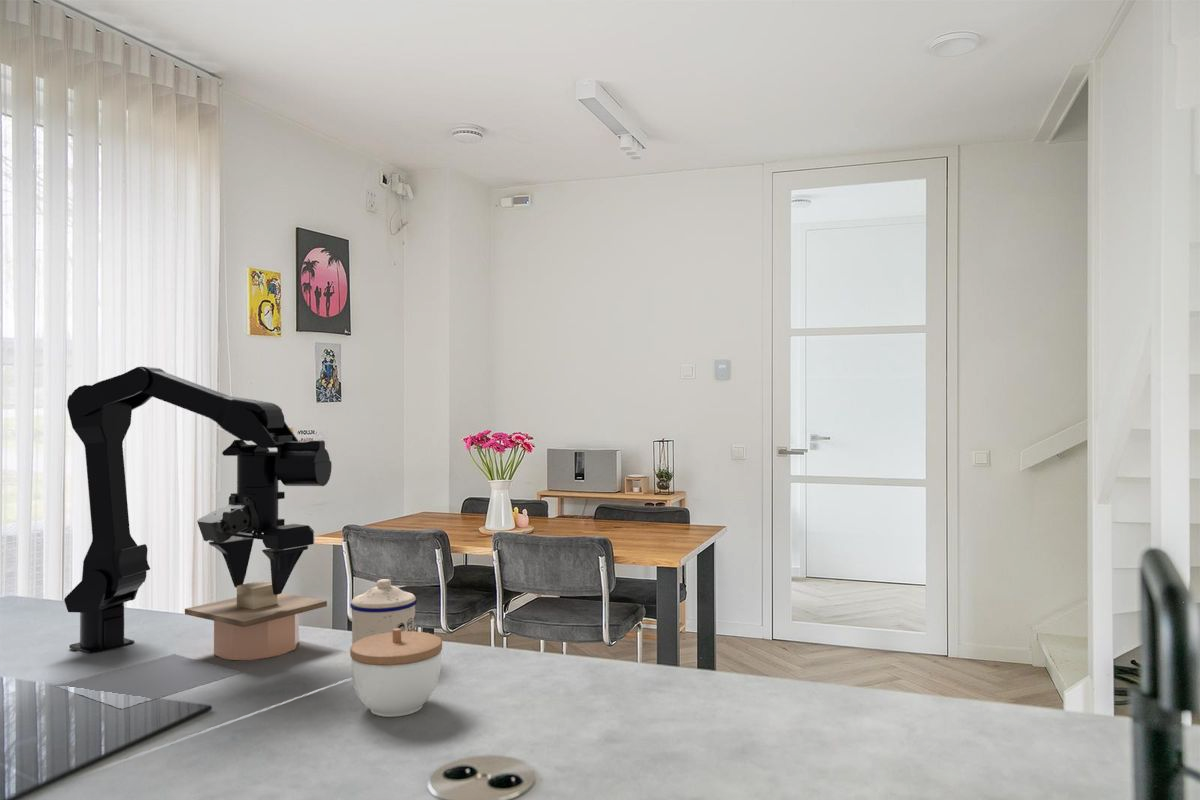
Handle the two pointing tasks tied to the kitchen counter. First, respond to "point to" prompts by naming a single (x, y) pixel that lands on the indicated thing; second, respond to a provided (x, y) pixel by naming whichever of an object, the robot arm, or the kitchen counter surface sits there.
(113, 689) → the mat
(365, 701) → the lidded jar
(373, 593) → the teacup with lid
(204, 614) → the cover
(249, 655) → the bowl
